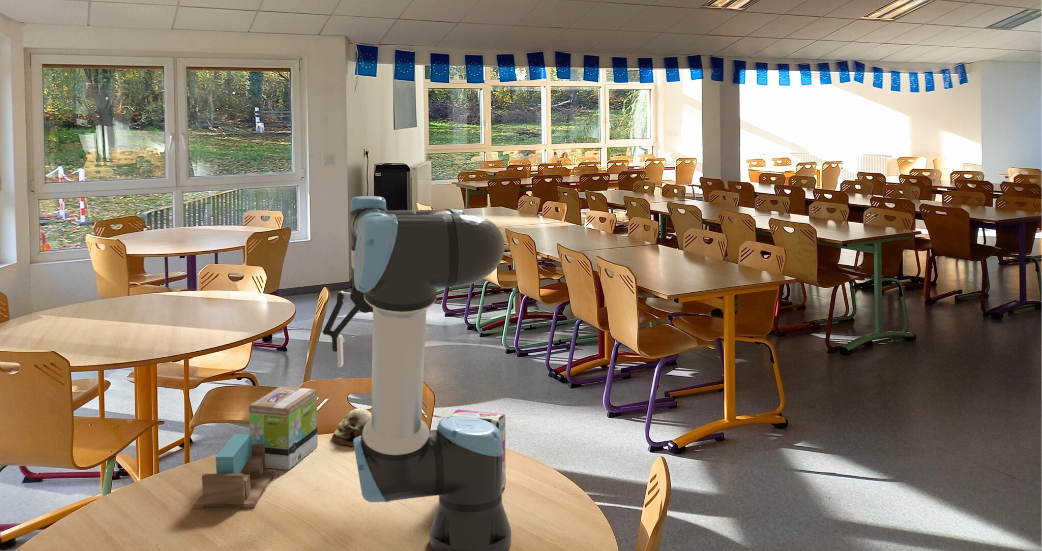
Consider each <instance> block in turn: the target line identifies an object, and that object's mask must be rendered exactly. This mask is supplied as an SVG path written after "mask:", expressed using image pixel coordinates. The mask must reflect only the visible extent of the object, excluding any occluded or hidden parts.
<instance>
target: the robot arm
mask: <svg viewBox="0 0 1042 551" xmlns="http://www.w3.org/2000/svg"><path fill="white" fill-rule="evenodd" d="M349 218H350V242H351V243H350V244H351V253H350V256H351V268H352V269H353V270H352V271H351V281H352V282H351V283H352V284H351V285H352V288H351V292H347V291H344V290H340V291H339V292H338V293H337V295H336V303H335V306H334V307H333V309H332V312H331V314H330V315H329V318H328V319H327V322H326V324H325V326H324V328H323V330H322V334H323V335H325V336H330V337H331V348H332V349H331V350H332V351H333V352H334V353H336V354H337V355H336V356H337V368H342V367H343V365H344V340H343V339H344V338H343V334H340V333H342V331H343V330H344V328H346V327H347V325H348V324H349V322H351V320H352V319H353V318H354V317H355V315H357V313H359V311H360V312H361V313H363V314H368V313H372V346H371V347H372V350H371V351H372V353H371V355H372V356H371V357H372V358H371V366H372V368H371V412H370V413H371V420H369V421H368V422H367V423H366V424H365V426H364V428H363V432H362V436H359V437H356V438H355V439H354V440H353V443H354V446H353V448H354V454H355V459H356V460H355V461H356V465H357V466H356V467H357V472H358V478H359V484H360V491H361V496H362V498H363V500H365V501H366V502H368V503H390V502H394V501H399V500H400V501H402V500H410V499H417V498H418V499H419V498H426V497H435V496H438V504H437V508H436V511H435V514H434V518H433V520H432V524H431V525H430V526H431V527H430V529H429V546H430V549H431V550H433V551H508V550H509V548H510V546H511V544H512V528H511V525H510V522H509V519H508V516H507V513H506V510H505V508H504V503H503V490H502V455H503V449H502V438H501V433H500V431H499V429H498V428H497V427H496V426H495V425H493V424H492V423H490V422H488V421H485V420H482V419H478V418H474V417H466V416H452V417H450V416H447V417H446V418H445V417H444V418H442V419H440V420H439V421H438V423H437V426H436V429H429V426H428V425H427V423H426V422H425V421H424V420H422V414H423V412H422V410H423V393H424V392H423V389H424V388H423V387H424V373H425V372H424V371H425V370H424V369H425V368H424V366H425V351H426V350H425V346H426V345H425V344H426V326H427V309H429V308H430V307H431V306H434V304H435V302H436V300H437V297H438V295H437V294H438V289H441V288H443V289H445V288H454V287H457V288H459V287H465V286H469V285H472V284H475V283H477V282H480V281H482V280H484V278H486V277H488V276H489V275H491V274H492V273H493V272H494V271H495V270H496V269H497V267H498V266H499V265H500V263H501V262H502V259H503V257H504V254H505V239H504V235H503V233H502V232H501V230H500V228H499V227H498V226H497V225H496V224H495V223H494V222H493V221H492V220H490V219H488V218H485V217H481V216H478V215H473V214H465V212H464V211H463V210H461V209H452V208H444V209H419V210H418V209H417V210H414V209H413V210H411V209H409V210H408V209H407V210H406V209H405V210H404V209H403V210H402V209H401V210H400V209H399V210H388V209H387V201H386V198H384V197H382V196H375V195H374V196H373V195H369V196H368V195H366V196H365V195H364V196H363V195H362V196H353V198H351V200H350V206H349ZM349 299H350V301H352V304H354V306H353V307H352V309H350V311H349V312H348V313H347V315H346V316H345V317H344V318H343V319H342V320H341V321H340V323H339V324H338V325H337V326H336V328H335V329H334V328H333V326H334V324H335V322H336V320H337V317H338V316H339V314H340V311H341V309H342V307H343V305H344V304H345V303H346V302H347V301H348V300H349Z"/></svg>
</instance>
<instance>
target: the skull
mask: <svg viewBox="0 0 1042 551" xmlns="http://www.w3.org/2000/svg"><path fill="white" fill-rule="evenodd" d="M371 413H372V412H370V411H369V410H367V409H366V408H362V407H360V408H359V407H358V408H355V409H352V410H350V411H349V413H348V414H346V415H345V416H344V418H343V419H342V421H340V422H339V424H338V425H337V426H338V428H337V429H336V430H335V431H334V433H333V434H332V437H331V438H332V440H333V441H334V442H335V443H336V444H338V445H341V446H344V447H345V446H348V447H354V443H353V440H354V439H355V438H356V437H359V436H362V432H363V428H364V426H365V424H366V423H367V422H368V421H369V420H371Z"/></svg>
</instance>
